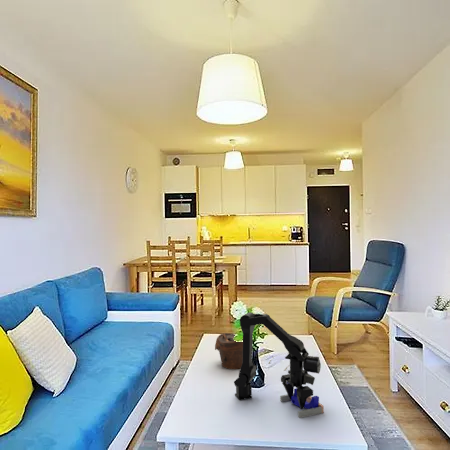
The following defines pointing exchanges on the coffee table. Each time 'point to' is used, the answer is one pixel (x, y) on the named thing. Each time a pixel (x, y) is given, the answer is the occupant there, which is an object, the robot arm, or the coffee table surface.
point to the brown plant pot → (229, 351)
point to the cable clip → (307, 405)
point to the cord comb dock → (309, 411)
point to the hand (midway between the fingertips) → (296, 404)
